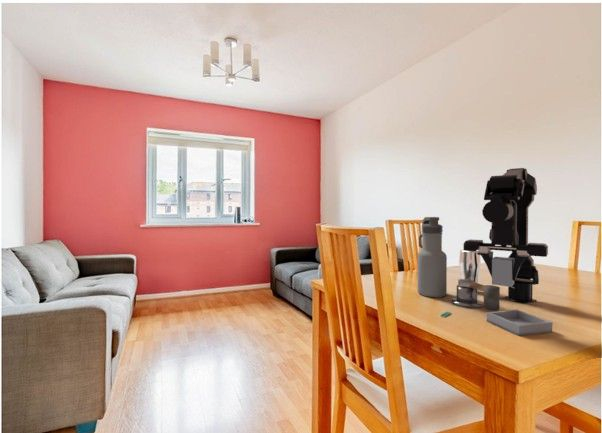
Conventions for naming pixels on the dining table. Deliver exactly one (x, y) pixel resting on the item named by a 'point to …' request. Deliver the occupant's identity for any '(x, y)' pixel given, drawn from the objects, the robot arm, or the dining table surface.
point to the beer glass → (469, 265)
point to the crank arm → (485, 293)
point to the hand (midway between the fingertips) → (503, 279)
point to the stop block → (502, 271)
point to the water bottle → (432, 260)
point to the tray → (519, 322)
